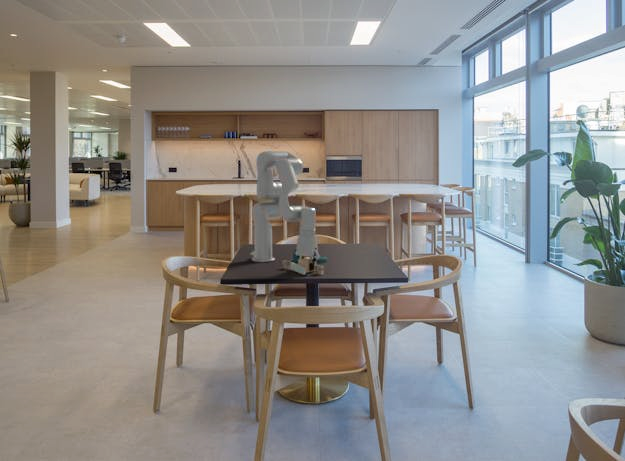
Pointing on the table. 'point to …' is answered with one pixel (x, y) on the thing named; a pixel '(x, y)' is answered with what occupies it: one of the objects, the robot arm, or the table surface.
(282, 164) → the robot arm
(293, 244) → the table surface
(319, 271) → the oak fence
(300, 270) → the sage gate
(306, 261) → the block
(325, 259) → the bracket
